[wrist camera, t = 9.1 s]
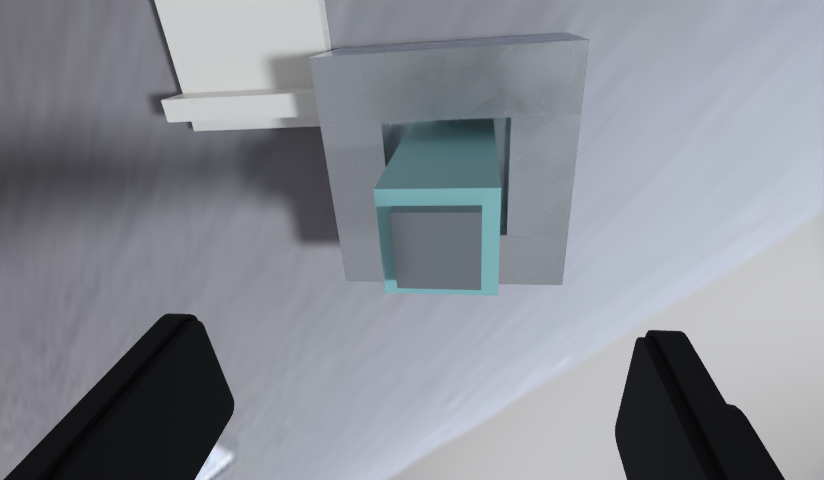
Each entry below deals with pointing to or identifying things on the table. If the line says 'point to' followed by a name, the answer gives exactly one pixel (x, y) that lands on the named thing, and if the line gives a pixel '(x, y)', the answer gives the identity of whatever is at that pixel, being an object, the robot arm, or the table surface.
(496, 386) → the table surface
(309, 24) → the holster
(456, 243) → the plug
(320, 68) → the port
